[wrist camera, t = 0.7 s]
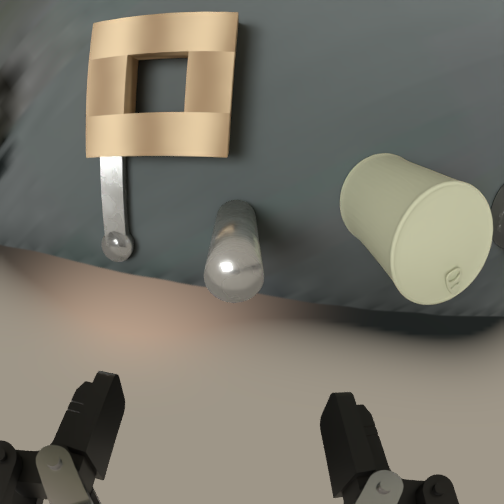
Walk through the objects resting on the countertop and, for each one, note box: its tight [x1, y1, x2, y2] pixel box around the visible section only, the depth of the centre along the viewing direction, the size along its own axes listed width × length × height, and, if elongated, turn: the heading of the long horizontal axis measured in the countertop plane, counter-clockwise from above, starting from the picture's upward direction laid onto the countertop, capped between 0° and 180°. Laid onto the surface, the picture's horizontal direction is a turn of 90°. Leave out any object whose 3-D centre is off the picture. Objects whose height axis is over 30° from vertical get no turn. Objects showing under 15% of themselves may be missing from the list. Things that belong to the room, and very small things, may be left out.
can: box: [340, 153, 493, 305], centre depth 23 cm, size 9×9×12 cm
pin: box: [204, 200, 264, 303], centre depth 24 cm, size 4×4×11 cm
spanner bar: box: [100, 156, 134, 262], centre depth 28 cm, size 11×3×1 cm, turn 176°
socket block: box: [86, 12, 238, 158], centre depth 22 cm, size 12×12×3 cm
